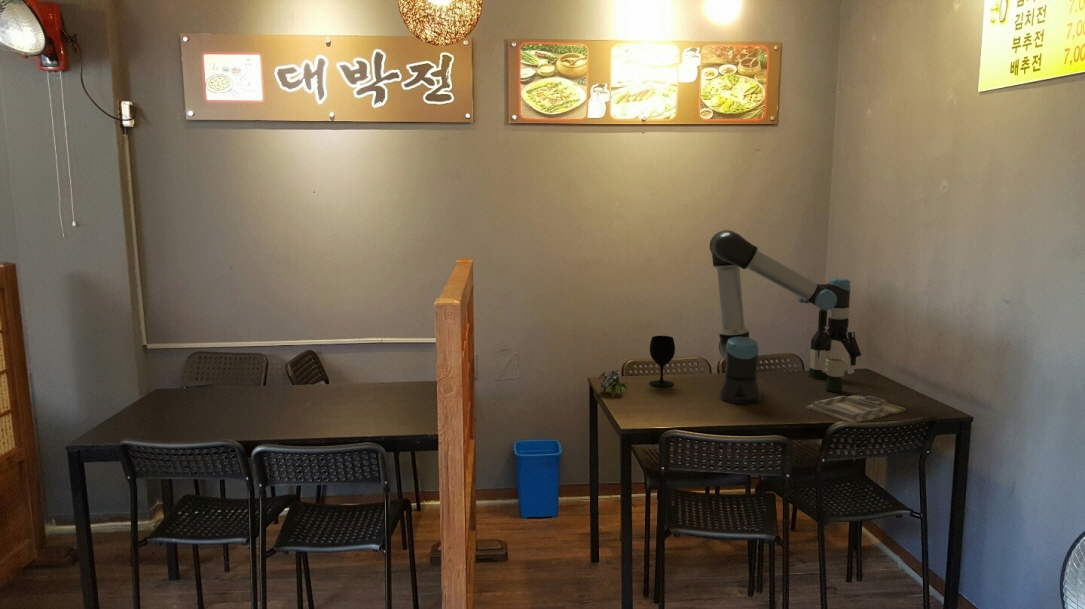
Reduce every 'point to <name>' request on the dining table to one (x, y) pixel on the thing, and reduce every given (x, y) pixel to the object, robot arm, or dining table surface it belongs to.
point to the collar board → (855, 407)
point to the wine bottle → (815, 369)
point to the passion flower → (609, 381)
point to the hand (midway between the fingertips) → (835, 369)
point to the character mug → (834, 373)
